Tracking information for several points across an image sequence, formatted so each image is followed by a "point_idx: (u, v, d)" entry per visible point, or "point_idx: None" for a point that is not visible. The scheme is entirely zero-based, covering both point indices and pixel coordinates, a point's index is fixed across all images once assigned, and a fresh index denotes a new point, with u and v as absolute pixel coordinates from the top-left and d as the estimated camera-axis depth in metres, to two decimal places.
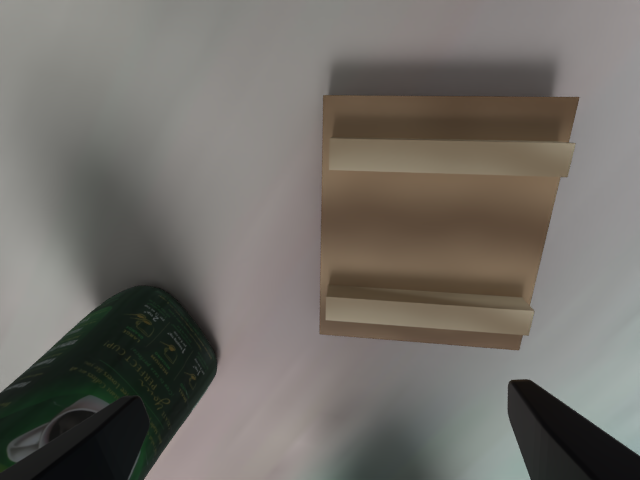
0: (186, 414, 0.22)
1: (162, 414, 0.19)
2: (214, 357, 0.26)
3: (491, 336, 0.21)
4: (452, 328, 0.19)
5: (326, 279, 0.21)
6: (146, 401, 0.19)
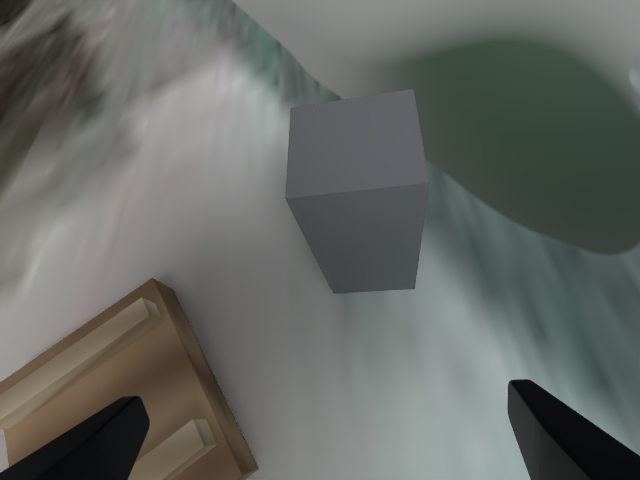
0: None
1: None
2: None
3: None
4: None
5: None
6: None
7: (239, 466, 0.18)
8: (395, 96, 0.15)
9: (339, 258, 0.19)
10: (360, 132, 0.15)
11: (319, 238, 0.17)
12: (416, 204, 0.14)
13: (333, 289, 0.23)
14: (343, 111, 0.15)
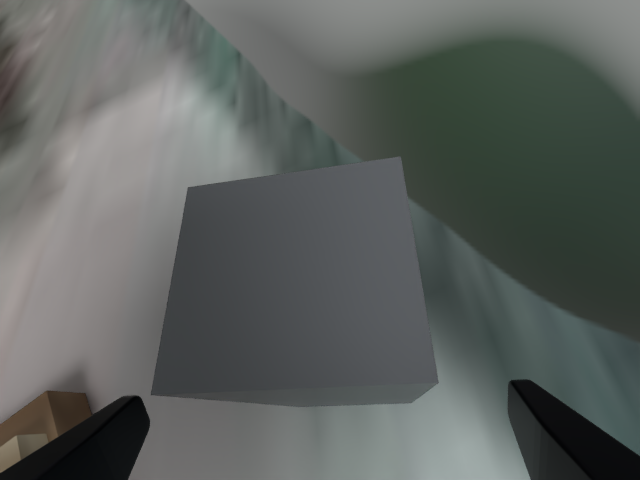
0: None
1: None
2: None
3: None
4: None
5: None
6: None
7: None
8: (368, 171, 0.08)
9: (293, 402, 0.12)
10: (303, 245, 0.08)
11: (250, 400, 0.10)
12: (411, 389, 0.07)
13: (297, 406, 0.17)
14: (275, 199, 0.08)
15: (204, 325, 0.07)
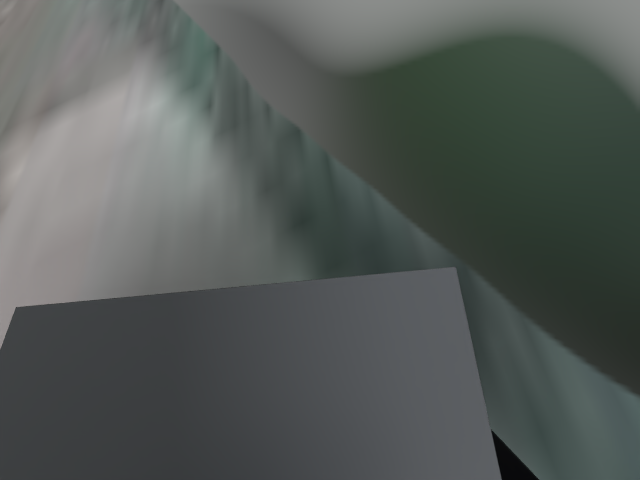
0: None
1: None
2: None
3: None
4: None
5: None
6: None
7: None
8: (383, 300, 0.04)
9: None
10: None
11: None
12: None
13: None
14: (178, 357, 0.04)
15: None
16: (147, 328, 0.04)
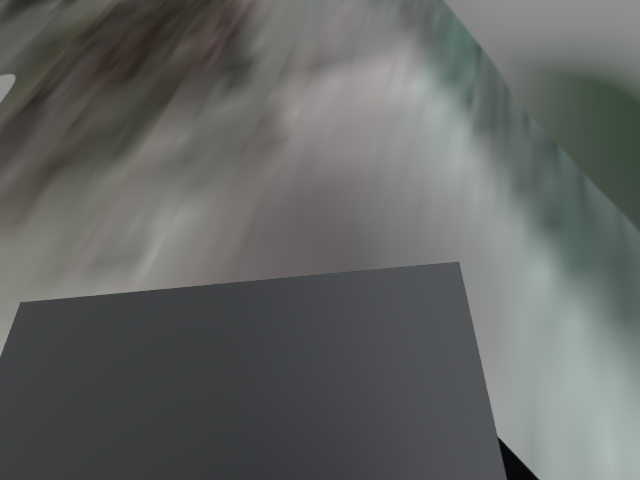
0: None
1: None
2: None
3: None
4: None
5: None
6: None
7: None
8: (386, 295, 0.04)
9: None
10: None
11: None
12: None
13: None
14: (182, 351, 0.04)
15: None
16: (151, 323, 0.04)
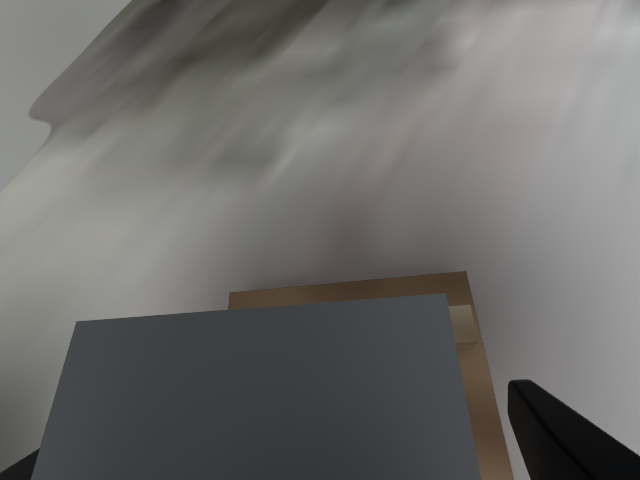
0: None
1: None
2: None
3: None
4: None
5: None
6: None
7: None
8: (386, 320, 0.04)
9: None
10: None
11: None
12: None
13: None
14: (218, 366, 0.05)
15: None
16: (191, 341, 0.05)
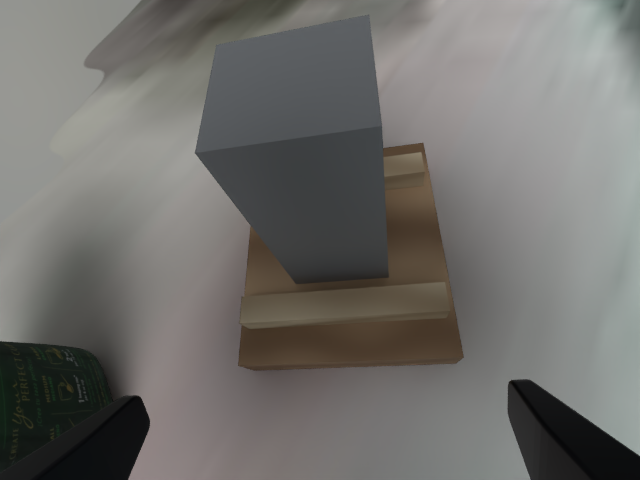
0: None
1: (14, 429, 0.15)
2: None
3: (426, 342, 0.18)
4: (370, 316, 0.18)
5: None
6: (7, 401, 0.16)
7: None
8: (346, 24, 0.12)
9: (290, 240, 0.16)
10: (298, 68, 0.11)
11: (258, 212, 0.13)
12: (370, 161, 0.11)
13: (294, 279, 0.20)
14: (280, 46, 0.12)
15: (230, 115, 0.11)
16: (268, 41, 0.12)
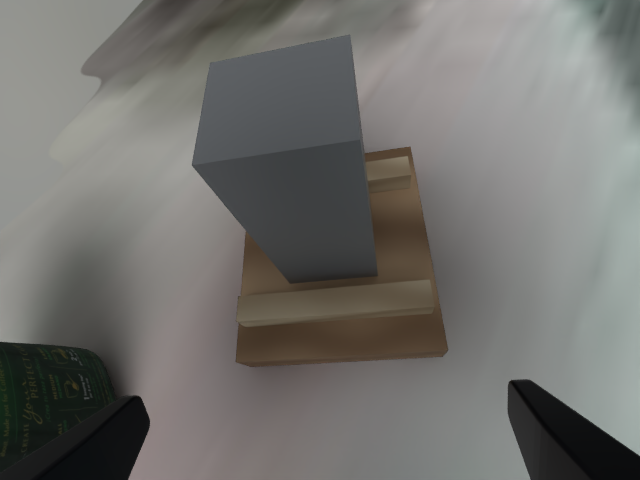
0: None
1: (25, 424, 0.16)
2: None
3: (412, 336, 0.19)
4: (360, 313, 0.19)
5: None
6: (17, 398, 0.17)
7: None
8: (329, 43, 0.13)
9: (282, 242, 0.17)
10: (285, 85, 0.12)
11: (251, 217, 0.14)
12: (352, 170, 0.12)
13: (288, 279, 0.21)
14: (268, 64, 0.13)
15: (223, 130, 0.12)
16: (258, 60, 0.13)
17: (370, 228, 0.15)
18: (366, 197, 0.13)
